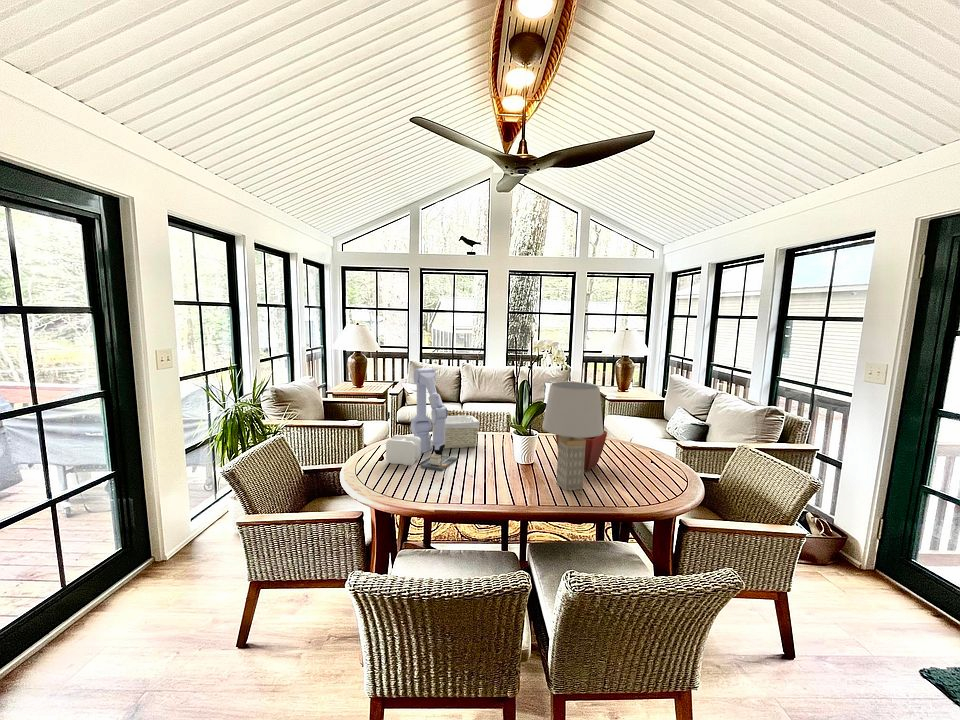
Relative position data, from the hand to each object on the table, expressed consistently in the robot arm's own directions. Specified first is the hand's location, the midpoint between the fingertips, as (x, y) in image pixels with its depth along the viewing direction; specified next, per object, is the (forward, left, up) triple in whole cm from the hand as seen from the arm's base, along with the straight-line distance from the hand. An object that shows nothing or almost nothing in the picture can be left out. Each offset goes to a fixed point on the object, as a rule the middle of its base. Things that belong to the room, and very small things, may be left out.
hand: (438, 460), depth 206 cm
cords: (-2, -7, -2) cm, 8 cm away
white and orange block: (+3, 0, -1) cm, 3 cm away
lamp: (0, +62, -2) cm, 62 cm away
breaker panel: (-1, 0, -2) cm, 3 cm away
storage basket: (-32, -7, -3) cm, 33 cm away
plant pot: (-29, +62, -2) cm, 69 cm away
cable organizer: (+3, -17, -2) cm, 18 cm away
